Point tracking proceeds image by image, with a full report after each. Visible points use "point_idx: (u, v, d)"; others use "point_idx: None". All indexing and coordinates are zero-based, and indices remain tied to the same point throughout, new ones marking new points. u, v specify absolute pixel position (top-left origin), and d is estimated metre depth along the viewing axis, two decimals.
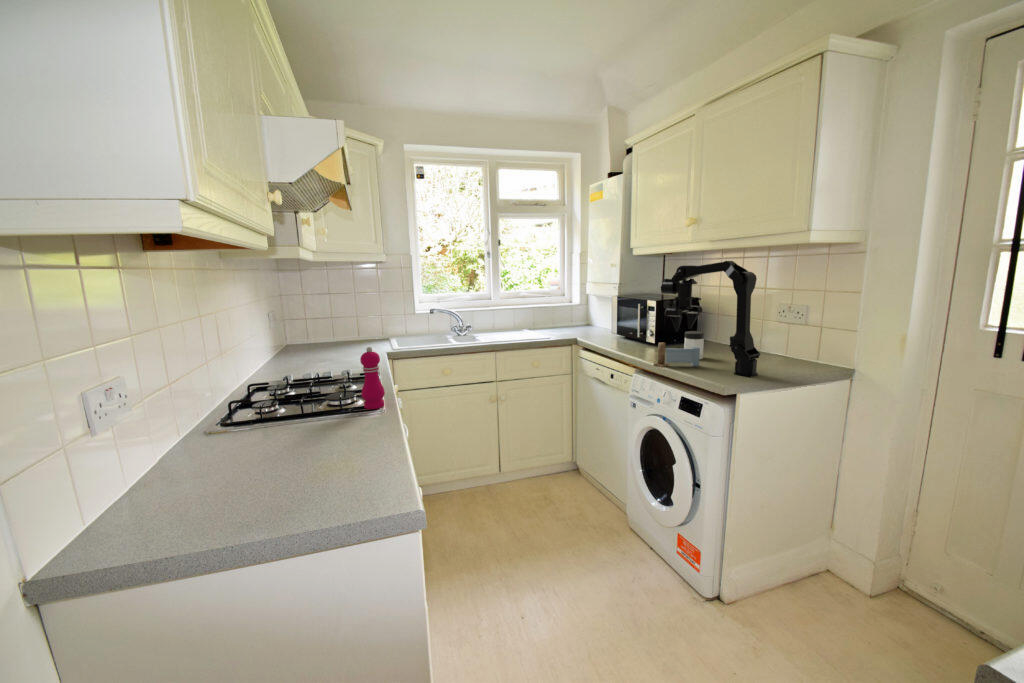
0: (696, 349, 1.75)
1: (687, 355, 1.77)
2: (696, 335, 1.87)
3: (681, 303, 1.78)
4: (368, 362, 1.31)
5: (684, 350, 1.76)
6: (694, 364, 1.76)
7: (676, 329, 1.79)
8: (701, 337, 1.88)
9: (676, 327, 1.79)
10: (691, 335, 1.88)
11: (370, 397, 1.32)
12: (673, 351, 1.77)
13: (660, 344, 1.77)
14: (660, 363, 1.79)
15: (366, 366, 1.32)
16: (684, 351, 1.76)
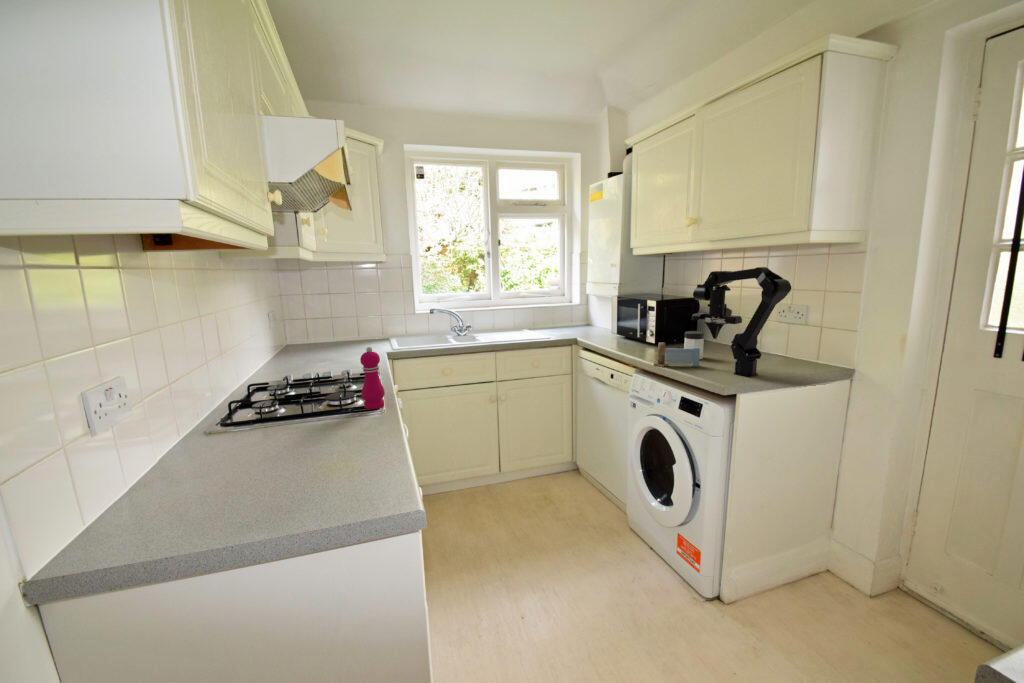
0: (696, 349, 1.75)
1: (687, 355, 1.77)
2: (696, 335, 1.87)
3: None
4: (368, 362, 1.31)
5: (684, 350, 1.76)
6: (694, 364, 1.76)
7: None
8: (701, 337, 1.88)
9: None
10: (691, 335, 1.88)
11: (370, 397, 1.32)
12: (673, 351, 1.77)
13: (660, 344, 1.77)
14: (660, 363, 1.79)
15: (366, 366, 1.32)
16: (684, 351, 1.76)
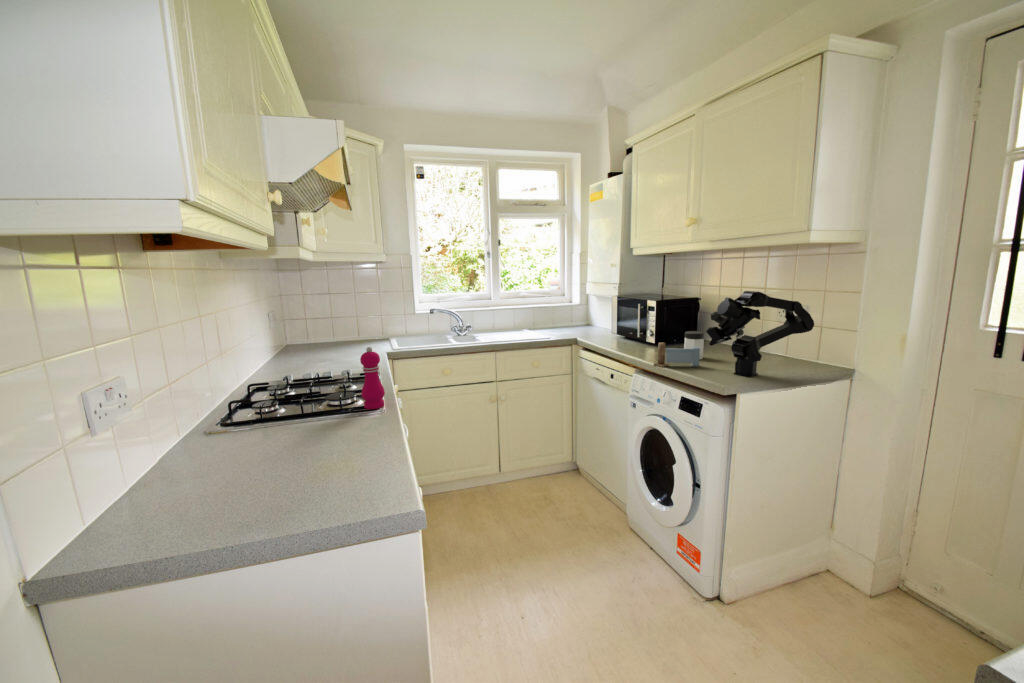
0: (696, 349, 1.75)
1: (687, 355, 1.77)
2: (696, 335, 1.87)
3: (729, 328, 1.60)
4: (368, 362, 1.31)
5: (684, 350, 1.76)
6: (694, 364, 1.76)
7: (711, 344, 1.70)
8: (701, 337, 1.88)
9: (712, 343, 1.69)
10: (691, 335, 1.88)
11: (370, 397, 1.32)
12: (673, 351, 1.77)
13: (660, 344, 1.77)
14: (660, 363, 1.79)
15: (366, 366, 1.32)
16: (684, 351, 1.76)
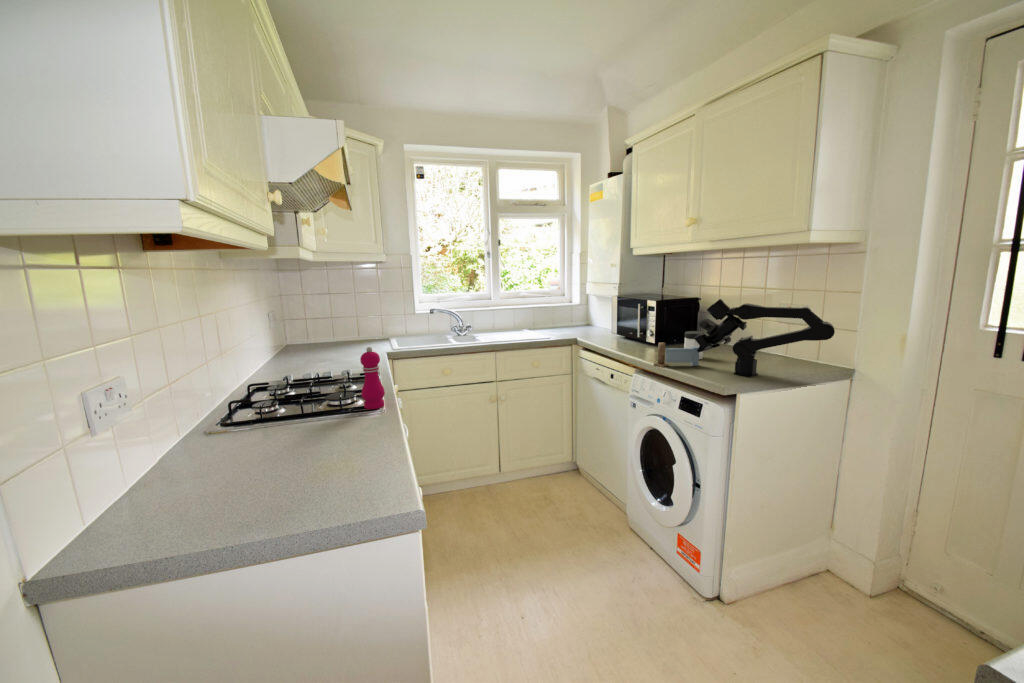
0: (696, 349, 1.76)
1: (687, 355, 1.77)
2: (696, 335, 1.87)
3: (716, 336, 1.65)
4: (368, 362, 1.31)
5: (684, 350, 1.77)
6: (694, 364, 1.77)
7: (699, 351, 1.74)
8: None
9: (700, 350, 1.73)
10: (691, 335, 1.88)
11: (370, 397, 1.32)
12: (673, 351, 1.78)
13: (660, 344, 1.77)
14: (660, 363, 1.79)
15: (366, 366, 1.32)
16: (684, 351, 1.77)
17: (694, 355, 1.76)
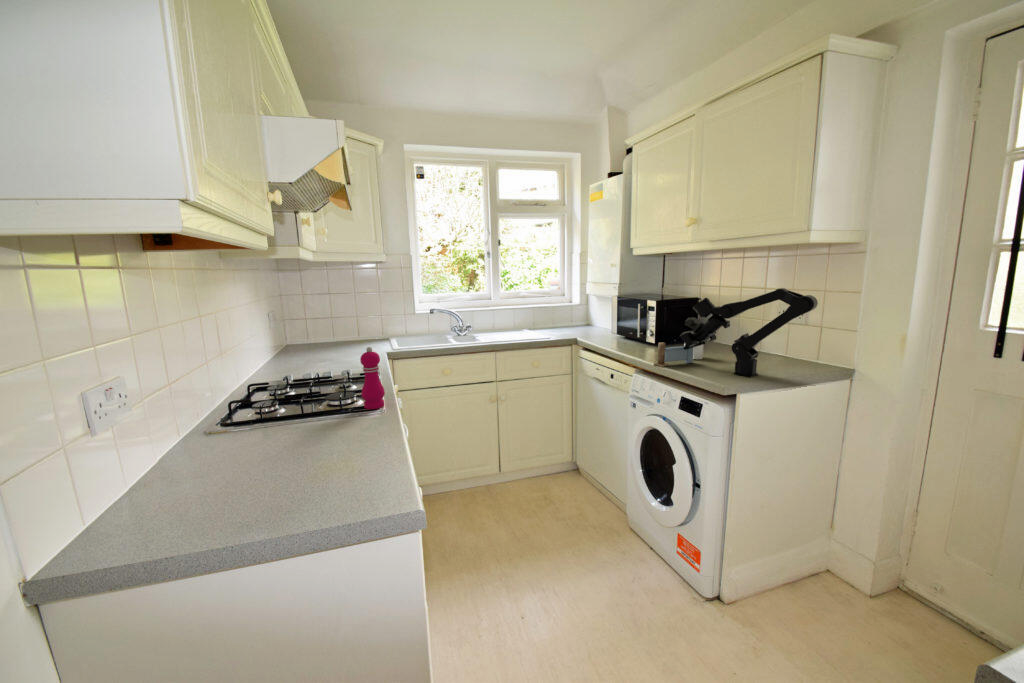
0: None
1: (682, 353, 1.81)
2: None
3: (701, 334, 1.70)
4: (368, 362, 1.31)
5: (681, 348, 1.80)
6: (689, 361, 1.82)
7: (685, 348, 1.79)
8: None
9: (686, 347, 1.78)
10: None
11: (370, 397, 1.32)
12: (672, 350, 1.79)
13: (660, 344, 1.77)
14: (660, 363, 1.79)
15: (366, 366, 1.32)
16: (680, 349, 1.81)
17: (689, 352, 1.81)
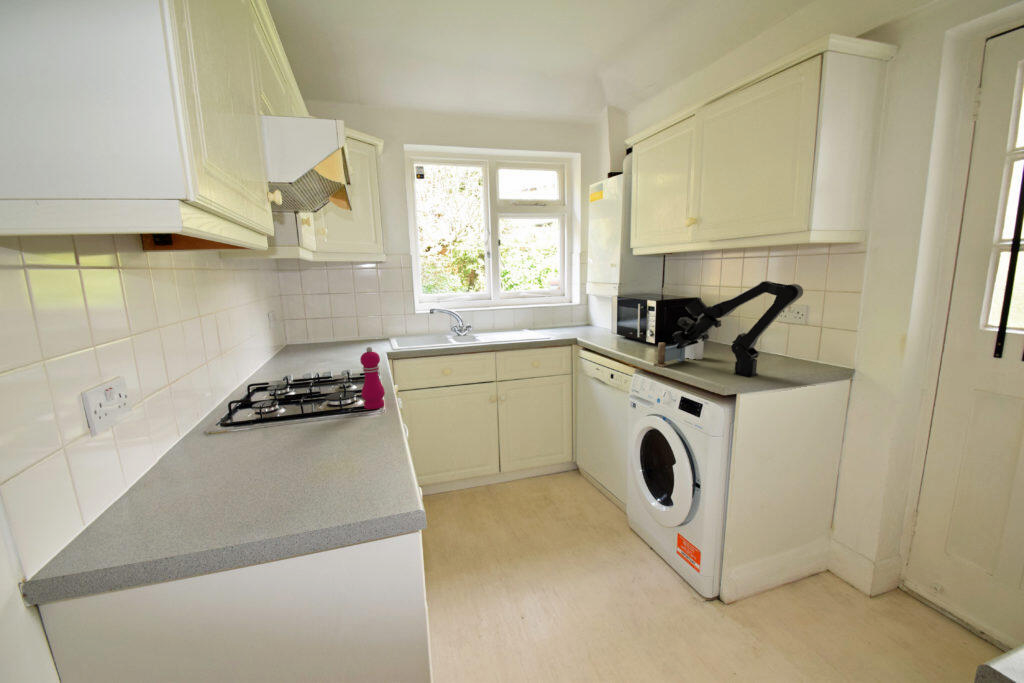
0: None
1: (677, 351, 1.84)
2: None
3: (693, 333, 1.73)
4: (368, 362, 1.31)
5: (676, 347, 1.83)
6: (682, 359, 1.86)
7: (678, 347, 1.82)
8: (701, 337, 1.88)
9: (679, 346, 1.81)
10: None
11: (370, 397, 1.32)
12: (669, 349, 1.81)
13: (660, 344, 1.77)
14: (660, 363, 1.79)
15: (366, 366, 1.32)
16: (676, 348, 1.83)
17: (682, 351, 1.85)
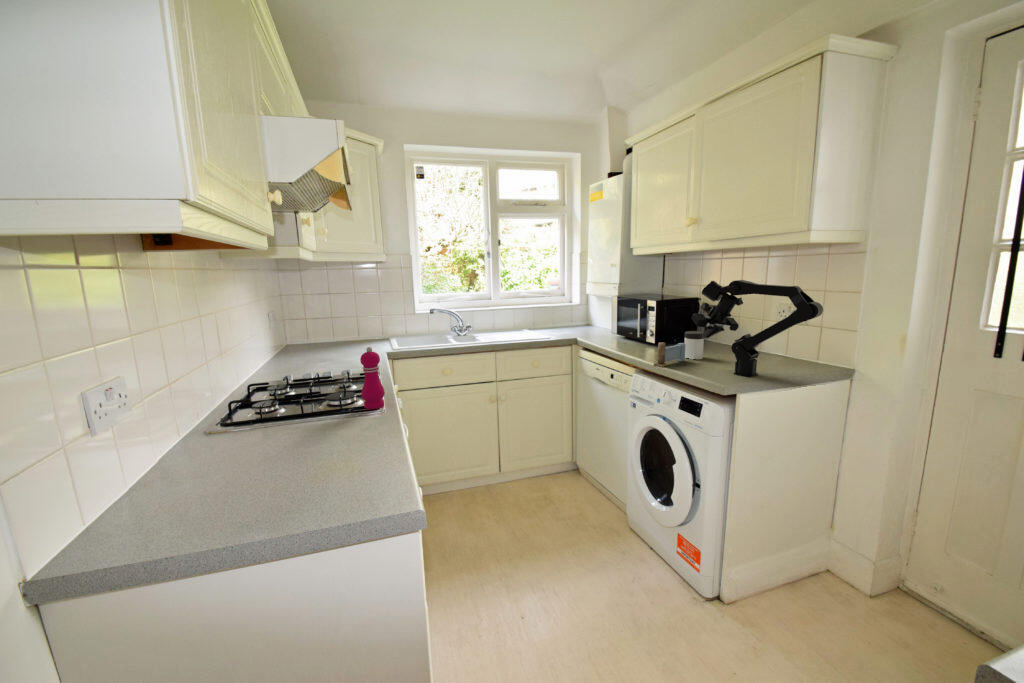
0: (683, 345, 1.85)
1: (677, 351, 1.84)
2: (696, 335, 1.87)
3: (714, 315, 1.67)
4: (368, 362, 1.31)
5: (676, 347, 1.83)
6: (682, 359, 1.86)
7: (704, 336, 1.74)
8: (701, 337, 1.88)
9: (704, 334, 1.74)
10: (691, 335, 1.88)
11: (370, 397, 1.32)
12: (669, 349, 1.81)
13: (660, 344, 1.77)
14: (660, 363, 1.79)
15: (366, 366, 1.32)
16: (676, 348, 1.83)
17: (682, 351, 1.85)
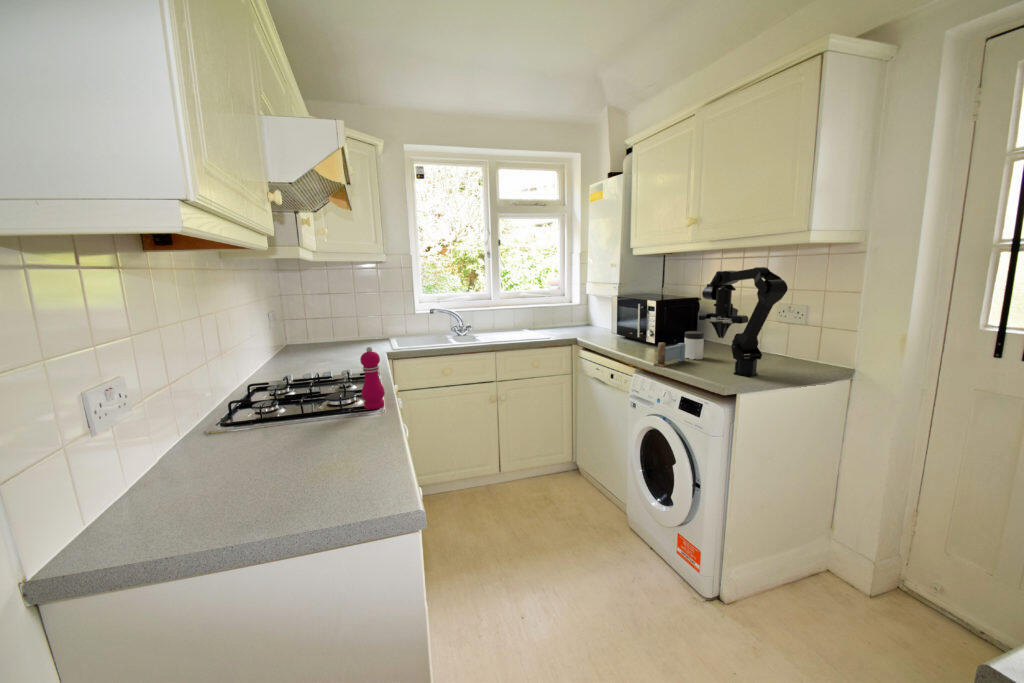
0: (683, 345, 1.85)
1: (677, 351, 1.84)
2: (696, 335, 1.87)
3: None
4: (368, 362, 1.31)
5: (676, 347, 1.83)
6: (682, 359, 1.86)
7: None
8: (701, 337, 1.88)
9: None
10: (691, 335, 1.88)
11: (370, 397, 1.32)
12: (669, 349, 1.81)
13: (660, 344, 1.77)
14: (660, 363, 1.79)
15: (366, 366, 1.32)
16: (676, 348, 1.83)
17: (682, 351, 1.85)
